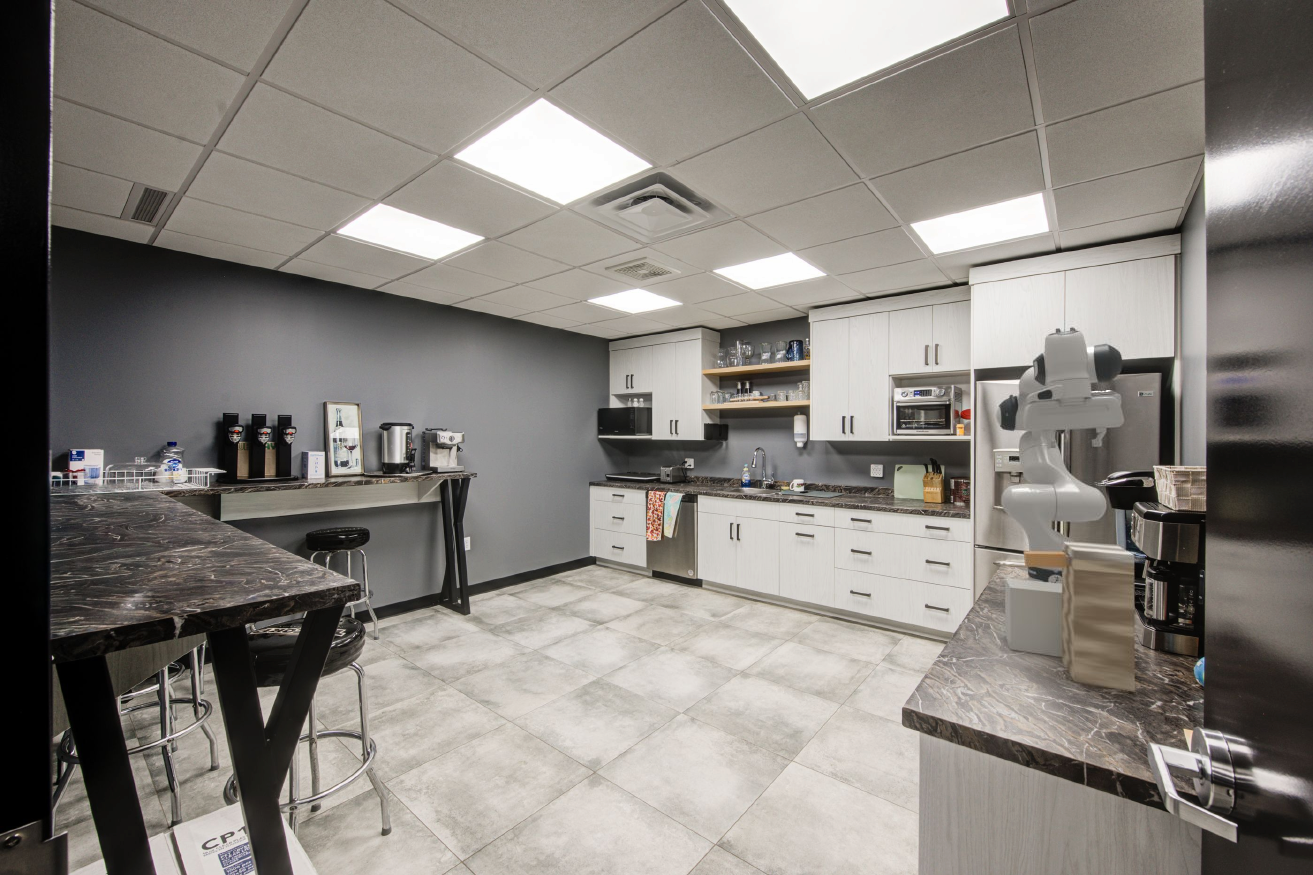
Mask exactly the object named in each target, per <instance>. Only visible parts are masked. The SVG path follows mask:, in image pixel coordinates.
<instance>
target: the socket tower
mask: <svg viewBox="0 0 1313 875" xmlns="http://www.w3.org/2000/svg"><path fill="white" fill-rule="evenodd" d="M1062 552H1064V553H1065V554H1066V555H1070V565H1067V568H1062V657H1061V658H1062V661H1061V662H1062V663H1063V665H1064V666H1065V668H1066V669H1067V671H1068V674H1069V675H1070V677H1071V679H1072V680H1073V682H1074V683H1079V684H1085V685H1090V686H1096V687H1103V688H1108V689H1114V690H1119V691H1120V690H1121V691H1126V692H1133V693H1135V692H1136V691H1135V689H1136V688H1135V687H1136V686H1135V685H1136V684H1135V683H1136V682H1135V680H1136V679H1135V673H1136V672H1135V670H1136V669H1135V661H1136V660H1135V657H1136V656H1135V554H1133V553H1131V552H1130V551H1128V550H1126V549H1125V548H1123V547H1121V546H1120V545H1119V544H1113V543H1111V544H1110V543H1098V542H1097V543H1096V542H1095V543H1094V542H1079V541H1073V542H1070V541H1062Z"/></svg>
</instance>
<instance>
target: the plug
mask: <svg viewBox="0 0 1313 875" xmlns="http://www.w3.org/2000/svg"><path fill="white" fill-rule="evenodd" d="M1023 559H1024V564H1025V566H1026V568H1028V567H1062V568H1067V565H1070V555H1066V554H1065V553H1064V552H1047V551H1029V550H1028V551H1027V550H1026V551H1024V550H1023Z"/></svg>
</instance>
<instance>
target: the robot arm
mask: <svg viewBox="0 0 1313 875" xmlns="http://www.w3.org/2000/svg"><path fill="white" fill-rule="evenodd" d="M1032 364H1033V365H1032V367H1030V368H1028V369H1027V370H1025V372H1024V373H1023V374H1022V375H1021V377H1020V379H1019V381H1018V394H1017V395H1013V394H1009V397H1008V398H1006V399H1004V400H1003V401H1002V402H1000V404H999V405H998V408H997V410H996V414H995V416H996V422H997V423H998V424H999V427H1000V428H1001V429H1002V430H1004V431H1009V432H1014V431H1024V433H1022V434H1021V436H1020V438H1019V441H1018V442H1019V444H1018V455H1019V461H1020V465H1021V469H1022V474H1023V477H1024V479H1025V480H1026V481H1027V482H1028V483H1022V484H1021V483H1020V484H1015V485H1009V486H1007V487H1006V489H1005V490H1004V491H1003V492H1002V494H1001V498H1000V499H1001V500H1000V502H1001V506H1002V508H1003V510H1004V512H1005V513H1006V514H1007V515H1008V516H1009V517H1011V518H1012V519H1014V520H1015V521H1016V522H1017V523H1018V525H1020V527H1022V529H1023V531H1024V533H1025V534H1026V537H1027V540H1028V547H1029V548H1028V549H1029V550H1028V551H1047V552H1062V541H1070V542H1074V541H1073V540H1072V539H1071V538H1069V537H1068V536H1066V535H1064V534H1063V533H1061V532H1058V531H1057V530H1054V529H1053V528H1052V526H1051V522H1069V523H1083V522H1084V523H1085V522H1092V521H1099V520H1100V519H1101V518H1102V517H1103V516H1104V515H1105V512H1106V510H1107V500H1106V497H1105V495H1104V494H1103V492H1101V491H1100V490H1099V489H1098V488H1096V487H1094V486H1091V485H1088V484H1086V483H1084V482H1082V481H1081V480H1079V479H1077V478H1076V477H1075V476H1073V475H1072V473H1070V471H1068V469H1067V467H1066V465H1065V462H1064V460H1063V457H1062V454H1061V451H1060V448H1059V446H1058V443H1057V440H1056V434H1057V433H1059V435H1063V434H1065V431H1068V430H1085V429H1086V430H1088V429H1095V432H1096V434H1097V433H1098V434H1097V435H1096V438H1094V439H1091V446H1092V448H1093V447H1102V446H1103V442H1102V439H1103V438H1104V436H1105V435H1106V433H1107V429H1109V428H1118V427H1121V426H1122V425H1123V424H1124V422H1125V418H1124V413H1123V409H1122V404H1123V402H1122V396H1121V394H1120V393H1119V392H1117V391H1114V390H1112V389H1111V390H1095V391H1092V384H1094V383H1095V384H1096V383H1099V384H1100V383H1111V381H1113V380H1114V379H1116V377H1118V375H1119V374H1120V373H1121V371H1122V367H1123V358H1122V354H1121V352H1120V351H1119V350H1118V349H1117V348H1115V347H1114V346H1112V345H1110V344H1108V343H1102V344H1097V345H1091V346H1087V344H1086V340H1085V337H1084V334H1083V332H1082V331H1079V330H1067V331H1059V332H1052V333H1049V334H1048V335H1046V336H1045V338H1044V352H1043V353H1042V352H1041V353H1039V355H1038V356H1037V357H1035V358H1034V359H1033V360H1032ZM1027 575H1028V576H1027V578H1026V580H1029V581H1039V582H1049V583H1059V584H1062V567H1027Z"/></svg>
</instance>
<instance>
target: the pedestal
mask: <svg viewBox="0 0 1313 875" xmlns="http://www.w3.org/2000/svg"><path fill="white" fill-rule="evenodd" d="M1004 582H1005V584H1004V585H1005V586H1004V593H1005V596H1004V597H1005V598H1004V601H1005V602H1004V606H1005V607H1004V608H1005V609H1004V612H1005V613H1004V614H1005V615H1004V616H1005V617H1004V619H1005V620H1004V621H1005V627H1004V628H1005V630H1004V632H1005V639H1006V641H1007V644H1008V647H1009V649H1010V651H1011V650H1012V651H1018V652H1026V653H1031V654H1032V653H1033V654H1038V655H1045V656H1052V657H1059V658H1062V584H1059V583H1049V582H1039V581H1029V580H1027V579H1026V580H1025V579H1017V578H1010V577H1009V578H1008V577H1006V578H1004Z"/></svg>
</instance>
